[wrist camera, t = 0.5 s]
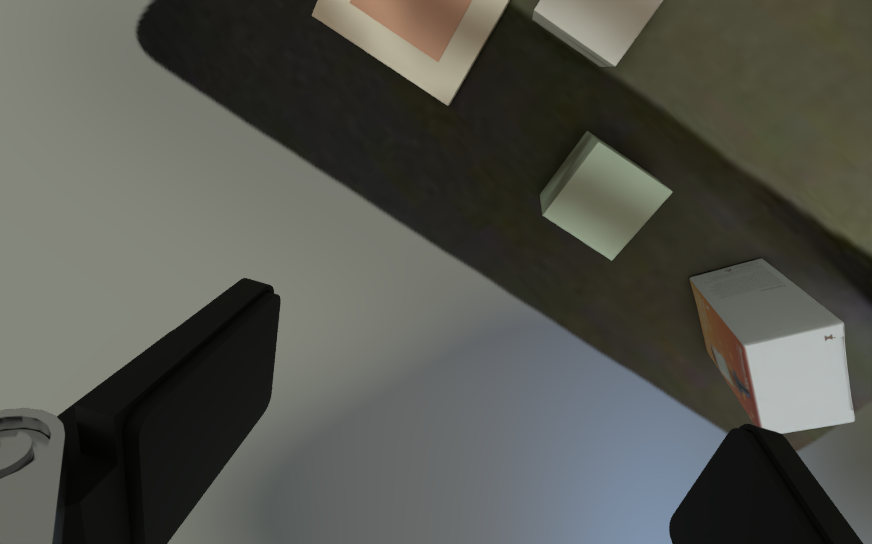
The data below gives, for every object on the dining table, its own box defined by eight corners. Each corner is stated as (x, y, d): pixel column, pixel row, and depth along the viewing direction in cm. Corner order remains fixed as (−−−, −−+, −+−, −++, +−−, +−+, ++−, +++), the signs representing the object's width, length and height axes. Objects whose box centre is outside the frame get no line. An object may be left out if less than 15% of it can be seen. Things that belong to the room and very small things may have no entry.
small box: (687, 275, 38) (741, 343, 29) (762, 255, 37) (846, 320, 27) (705, 353, 41) (761, 439, 31) (776, 338, 39) (858, 424, 30)
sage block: (587, 130, 35) (598, 141, 30) (650, 173, 36) (672, 191, 30) (539, 194, 38) (542, 215, 32) (598, 233, 38) (611, 260, 33)
